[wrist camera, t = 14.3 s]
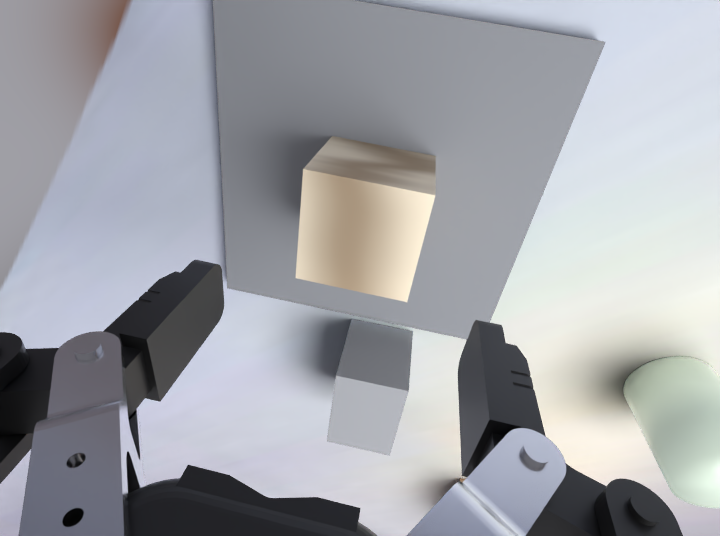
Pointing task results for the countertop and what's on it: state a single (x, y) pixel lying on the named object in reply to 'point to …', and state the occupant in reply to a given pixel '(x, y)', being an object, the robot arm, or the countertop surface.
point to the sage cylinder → (680, 424)
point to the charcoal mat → (391, 139)
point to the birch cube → (364, 217)
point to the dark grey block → (370, 387)
